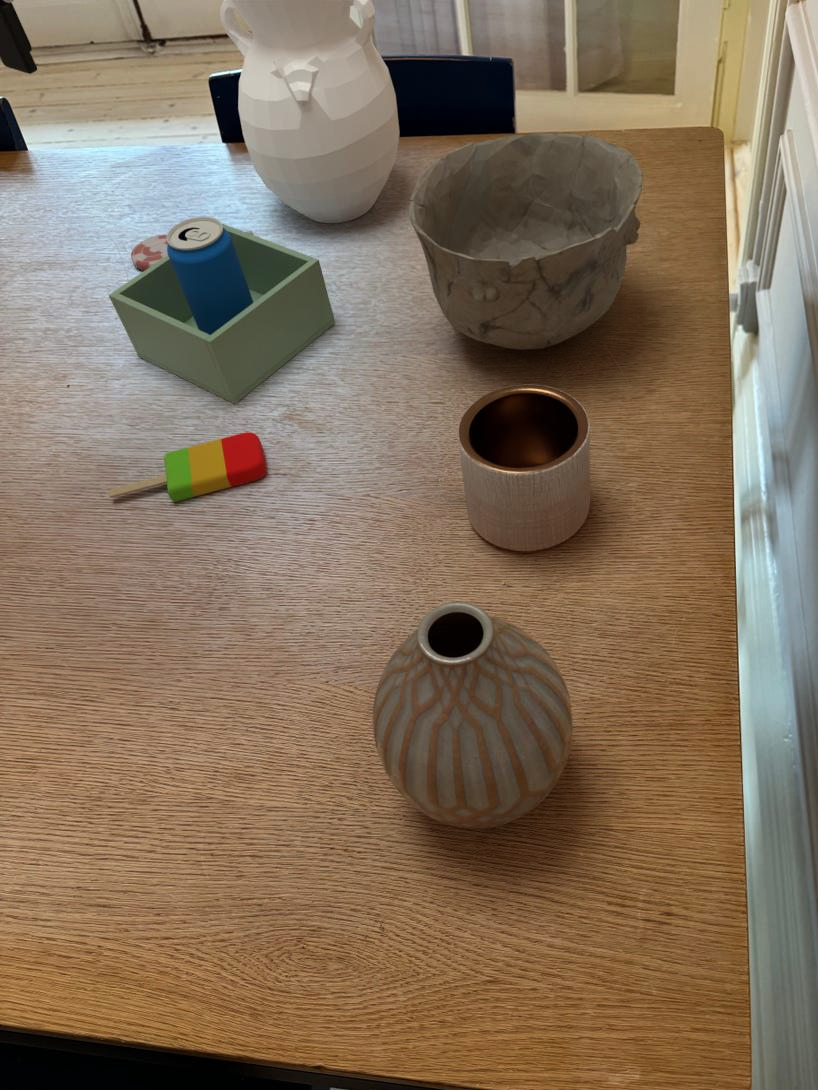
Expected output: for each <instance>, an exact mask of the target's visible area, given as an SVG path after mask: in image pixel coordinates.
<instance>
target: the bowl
mask: <svg viewBox="0 0 818 1090" xmlns="http://www.w3.org/2000/svg"><path fill="white" fill-rule="evenodd" d="M643 178H644V177H643V172H642V169H641V167H640V165H639V163H638V161H637V160H636V159H635V156H634V155H633V154H632V153H631V152H630V151H629V150H627V149H626V148H624V147H623V146H618V145H616V144H614V143H611V142H609V141H607V140H604V139H603V138H599V137H596V136H594V135H591V134H588V133H587V134H586V133H585V134H584V135H583V134H577V133H573V132H572V133H571V132H570V133H569V132H560V133H554V132H553V133H552V132H535V133H530V134H513V135H507V136H503V137H498V138H496V139H488V140H484V141H481V142H478V143H476V142H472V143H468V144H466V145H463V146H461V147H458V148H455V149H453V150H452V151H449V153H448V154H446V155H445V156H444V157H443V156H441V157H440V158H438V159H437V160H436V161H434V162H432V163H431V164H430V165H429V168H426V169H425V171H424V172H423V173H422V174H421V176H420V177H419V179H417V181H416V184H415V187H414V189H413V191H412V193H411V195H410V198H409V201H410V202H409V206H408V217H409V221H410V223H411V225H412V227H413V230H414V232H415V234H416V236H417V238H418V240H419V243H420V244H421V248H422V251H423V253H424V257H425V261H426V264H427V265H426V266H427V269H428V273H429V274H428V275H429V279H430V282H431V286H432V291H433V294H434V297H435V300H436V302H437V303H438V306H439V308H440V311H441V312H442V314H443V316H444V317H445V319H446V320H447V321H448V323H449V324H450V325H451V326H452V327H453V328H454V329H455V330H457V331H459V332H460V333H461V334H463V335H465V336H467V337H469V338H470V339H473V340H476V341H479V342H483V343H486V344H491V345H493V346H498V347H502V348H505V349H506V348H507V349H512V350H521V351H524V350H538V349H539V350H540V349H544V348H548V347H551V346H554V345H558V344H560V343H562V342H564V341H566V340H568V339H570V338H572V337H574V336H577V335H578V334H580V333H582V332H583V331H584V330H586V329H588V328H589V327H590V326H591V325H593V324H594V323H595V322H597V321H598V320H599V319H600V318H601V317H602V316H603V315H604V314H606V313H607V311H608V310H609V309H610V307H611V306H612V304H613V303H614V301H615V299H616V296H617V294H618V292H619V290H620V288H621V285H622V282H623V278H624V275H625V271H626V264H627V260H628V256H627V248H628V247H627V246H629V245H634V244H636V243H637V241H638V240H639V237H640V236H639V235H640V234H639V232H638V231H639V229H640V228H641V223H642V222H641V221H640V219H638V217H637V216H636V207H637V204H638V202H639V199H640V197H641V194H642V191H643V189H642V187H643V180H644V179H643Z"/></svg>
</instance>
